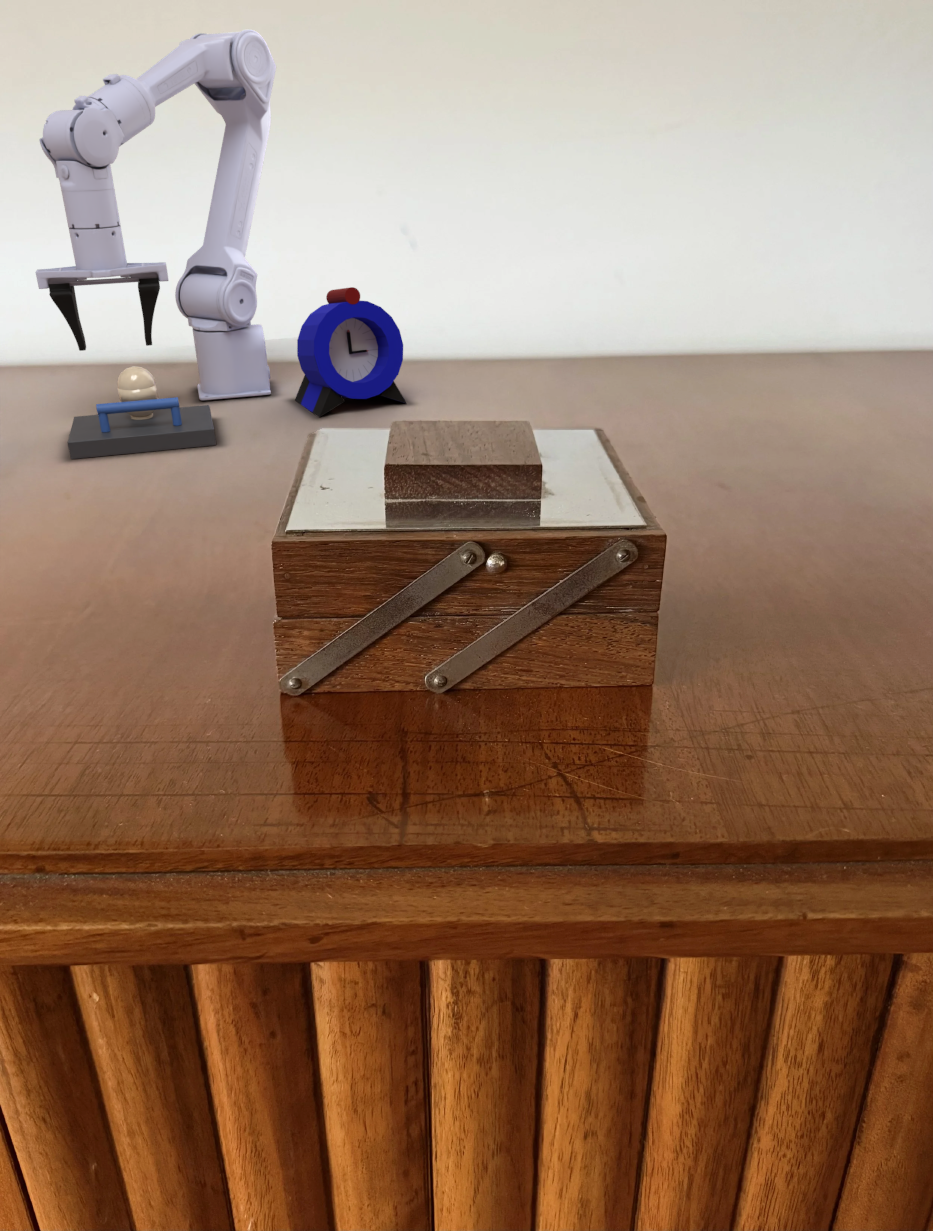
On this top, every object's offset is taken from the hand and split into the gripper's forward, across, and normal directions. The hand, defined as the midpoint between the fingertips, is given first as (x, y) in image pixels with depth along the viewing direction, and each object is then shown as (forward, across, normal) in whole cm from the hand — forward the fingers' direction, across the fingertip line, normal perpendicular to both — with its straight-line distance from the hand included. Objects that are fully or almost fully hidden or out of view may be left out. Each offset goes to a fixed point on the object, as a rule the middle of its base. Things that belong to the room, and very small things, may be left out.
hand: (116, 346), depth 120 cm
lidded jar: (+7, +2, -6) cm, 10 cm away
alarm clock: (+10, +28, 0) cm, 30 cm away
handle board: (+9, +2, -8) cm, 13 cm away
